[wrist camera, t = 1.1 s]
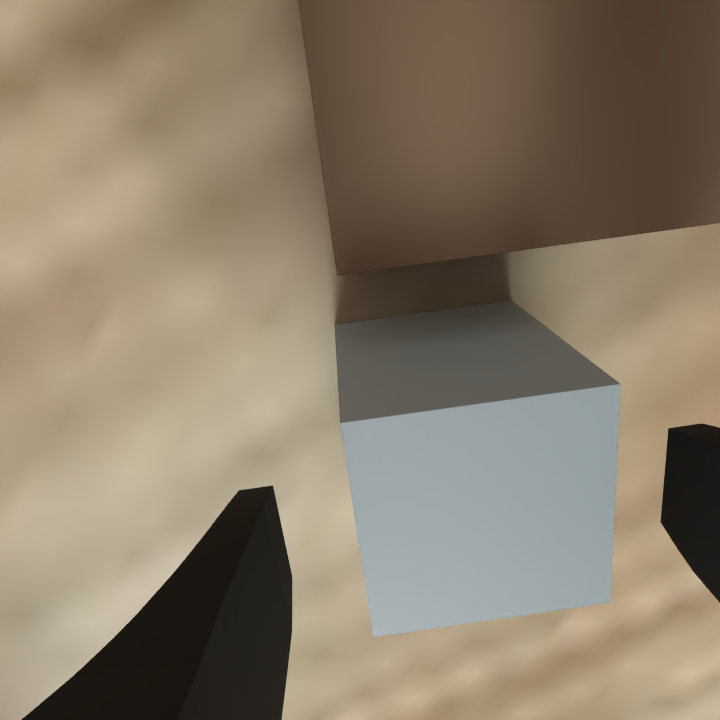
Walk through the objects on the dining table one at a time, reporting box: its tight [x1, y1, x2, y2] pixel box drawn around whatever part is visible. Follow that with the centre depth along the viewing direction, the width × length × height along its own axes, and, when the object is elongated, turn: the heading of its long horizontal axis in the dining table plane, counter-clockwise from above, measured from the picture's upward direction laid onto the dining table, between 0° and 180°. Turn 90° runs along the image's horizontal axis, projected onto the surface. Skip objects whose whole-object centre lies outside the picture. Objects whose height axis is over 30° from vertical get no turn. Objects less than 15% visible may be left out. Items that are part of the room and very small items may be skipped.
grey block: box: [335, 301, 620, 637], centre depth 12 cm, size 4×4×6 cm
